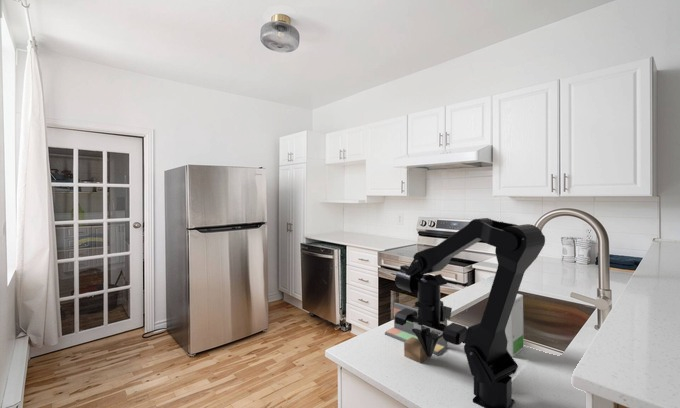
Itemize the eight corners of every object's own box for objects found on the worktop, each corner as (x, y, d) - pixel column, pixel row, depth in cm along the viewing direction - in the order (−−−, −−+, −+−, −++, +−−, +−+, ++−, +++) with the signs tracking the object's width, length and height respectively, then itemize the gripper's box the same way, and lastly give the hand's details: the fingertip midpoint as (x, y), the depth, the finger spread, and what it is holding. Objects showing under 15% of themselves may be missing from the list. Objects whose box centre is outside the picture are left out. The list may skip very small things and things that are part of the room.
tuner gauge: (447, 348, 89) (447, 317, 89) (436, 356, 85) (436, 324, 85) (396, 329, 102) (395, 302, 102) (384, 335, 98) (384, 307, 98)
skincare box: (512, 358, 83) (512, 301, 83) (487, 349, 88) (487, 295, 88) (524, 348, 89) (524, 294, 88) (500, 339, 94) (500, 289, 93)
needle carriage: (431, 354, 85) (431, 340, 85) (420, 363, 81) (420, 348, 81) (415, 348, 89) (415, 334, 89) (404, 356, 85) (404, 341, 85)
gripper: (477, 298, 80) (477, 358, 80) (415, 284, 93) (415, 334, 94) (457, 311, 72) (458, 376, 73) (392, 293, 86) (393, 348, 86)
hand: (429, 356), depth 82 cm, fingers closed
